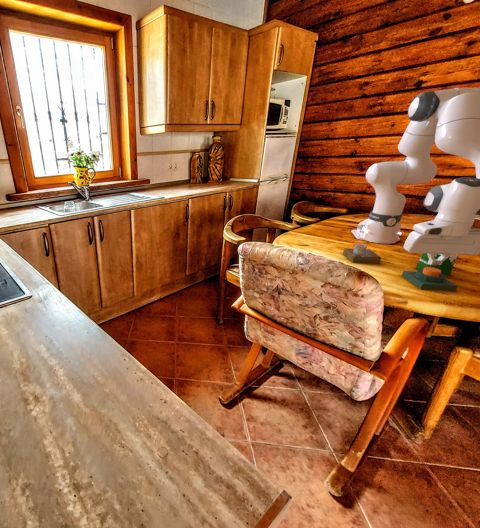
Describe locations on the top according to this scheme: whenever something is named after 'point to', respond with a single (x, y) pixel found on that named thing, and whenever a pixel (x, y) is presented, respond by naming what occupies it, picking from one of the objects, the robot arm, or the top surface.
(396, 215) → the robot arm
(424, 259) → the milk carton
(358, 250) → the knob
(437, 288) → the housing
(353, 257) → the panel
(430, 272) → the button
